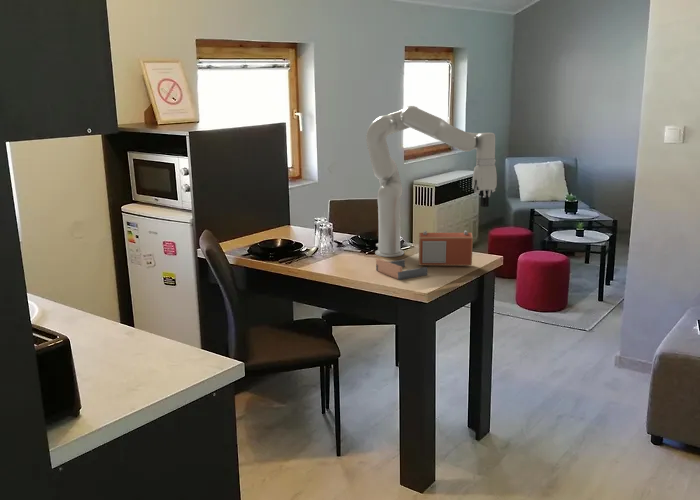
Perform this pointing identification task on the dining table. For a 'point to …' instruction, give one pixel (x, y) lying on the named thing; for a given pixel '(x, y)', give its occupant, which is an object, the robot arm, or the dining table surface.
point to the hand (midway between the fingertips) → (484, 206)
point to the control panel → (445, 248)
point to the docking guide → (398, 269)
